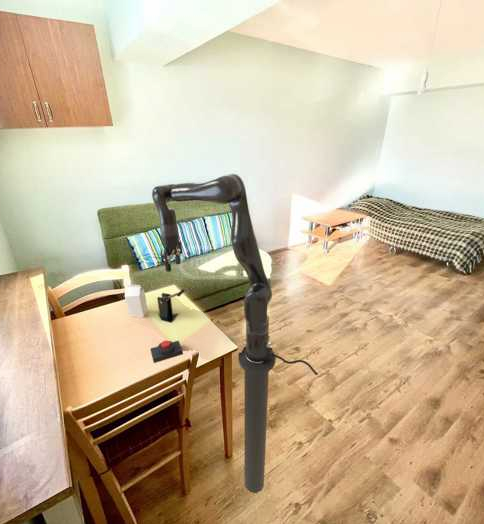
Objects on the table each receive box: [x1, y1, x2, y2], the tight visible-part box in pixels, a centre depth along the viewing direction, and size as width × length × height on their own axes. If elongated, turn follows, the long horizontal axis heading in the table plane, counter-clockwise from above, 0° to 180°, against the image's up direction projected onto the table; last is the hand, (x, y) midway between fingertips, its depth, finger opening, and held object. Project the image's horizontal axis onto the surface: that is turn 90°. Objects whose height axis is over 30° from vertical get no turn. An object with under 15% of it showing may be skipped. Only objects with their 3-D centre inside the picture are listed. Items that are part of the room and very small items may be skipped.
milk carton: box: [124, 284, 149, 318], centre depth 138 cm, size 7×7×19 cm
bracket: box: [156, 292, 179, 323], centre depth 138 cm, size 10×8×13 cm
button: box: [160, 340, 171, 349], centre depth 115 cm, size 4×4×2 cm
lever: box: [161, 288, 186, 301], centre depth 134 cm, size 13×5×2 cm, turn 72°
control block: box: [149, 340, 184, 364], centre depth 116 cm, size 12×7×4 cm, turn 115°
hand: (173, 267), depth 125 cm, fingers open, 8 cm apart
